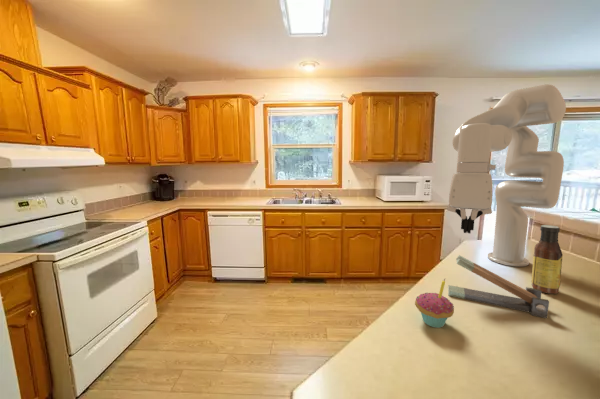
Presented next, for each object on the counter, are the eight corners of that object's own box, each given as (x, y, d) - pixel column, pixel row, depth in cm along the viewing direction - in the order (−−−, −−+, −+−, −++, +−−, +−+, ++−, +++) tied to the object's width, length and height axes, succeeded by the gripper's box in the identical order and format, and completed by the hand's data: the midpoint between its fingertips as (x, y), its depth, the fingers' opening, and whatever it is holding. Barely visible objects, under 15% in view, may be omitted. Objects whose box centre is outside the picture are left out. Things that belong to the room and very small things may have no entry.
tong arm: (456, 258, 77) (459, 255, 76) (532, 299, 69) (535, 295, 69) (456, 263, 73) (459, 259, 73) (536, 306, 66) (540, 302, 65)
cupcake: (448, 315, 66) (451, 271, 64) (456, 336, 58) (460, 287, 57) (412, 309, 69) (414, 268, 67) (416, 329, 61) (418, 282, 59)
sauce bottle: (564, 295, 74) (573, 229, 71) (539, 294, 75) (547, 229, 72) (547, 285, 80) (555, 224, 77) (525, 283, 82) (531, 223, 79)
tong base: (448, 286, 81) (449, 273, 80) (537, 303, 70) (539, 288, 70) (448, 298, 74) (449, 284, 73) (547, 319, 63) (550, 302, 63)
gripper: (503, 169, 71) (496, 232, 74) (442, 168, 79) (438, 226, 81) (508, 169, 65) (501, 239, 67) (441, 169, 72) (437, 231, 75)
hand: (466, 232), depth 74 cm, fingers closed
